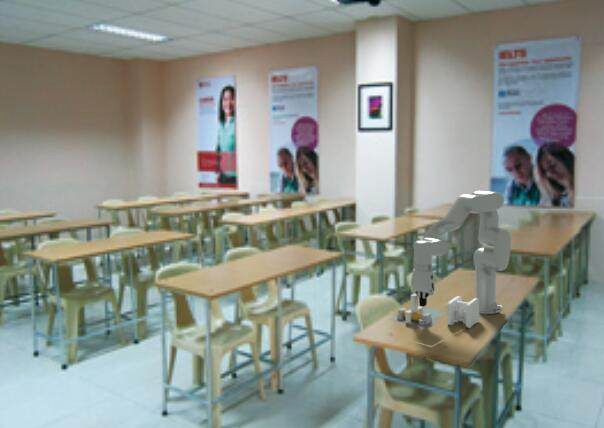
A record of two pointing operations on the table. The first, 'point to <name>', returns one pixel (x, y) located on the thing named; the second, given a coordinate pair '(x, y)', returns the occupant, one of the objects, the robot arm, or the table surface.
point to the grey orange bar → (416, 315)
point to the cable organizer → (463, 311)
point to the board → (415, 323)
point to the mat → (431, 312)
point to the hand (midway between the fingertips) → (423, 305)
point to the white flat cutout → (413, 308)
